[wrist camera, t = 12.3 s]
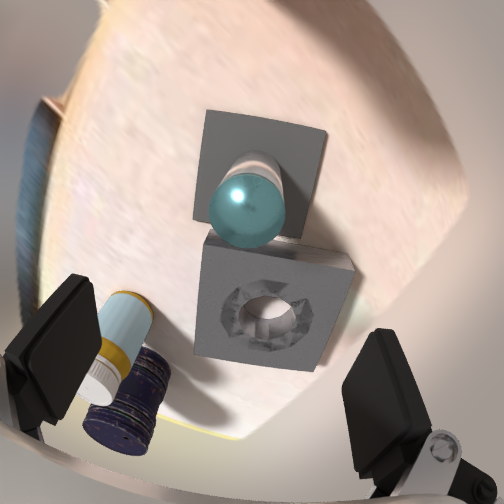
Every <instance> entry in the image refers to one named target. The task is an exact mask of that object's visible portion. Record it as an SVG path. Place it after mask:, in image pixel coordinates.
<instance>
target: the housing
mask: <svg viewBox="0 0 504 504" xmlns="http://www.w3.org/2000/svg"><path fill="white" fill-rule="evenodd" d="M354 273H355V269H354V267H353V265H352V263H351V261H350V258H349V256H348V254H346V253H340V252H335V251H330V250H324V249H319V248H314V247H308V246H303V245H297V244H292V243H286V242H281V241H275V240H271V241H270V242H269V243H267V244H265V245H262V246H260V247H256V248H240V247H236V246H233V245H231V244H229V243H227V242H226V241H224V240H223V239H222V238H220V237H219V236H218V234H217V233H216V232H215V230H213V229H210V231H209V233H208V235H207V237H206V239H205V242H204V244H203V252H202V261H201V271H200V282H199V292H198V304H197V316H196V329H195V342H194V355H199V356H204V357H210V358H215V359H221V360H226V361H232V362H238V363H245V364H251V365H258V366H265V367H273V368H280V369H289V370H298V371H307V372H314V370H315V368H316V365H317V363H318V361H319V359H320V357H321V354H322V352H323V350H324V348H325V345H326V343H327V341H328V339H329V336H330V334H331V332H332V329H333V327H334V324H335V322H336V320H337V317H338V315H339V312H340V310H341V307H342V305H343V302H344V300H345V297H346V295H347V292H348V289H349V287H350V284H351V281H352V279H353V276H354ZM264 295H265V296H271V297H277V298H281V299H282V300H284V301H285V302H286V303H288V304H289V305H290V306H291V308H290V309H289V310H288V311H287V312H286V313H285V314H283V315H282V316H281V317H277V318H273V319H269V320H268V319H262V318H256V317H254V316H253V315H251V314H250V313H248V312H247V311H246V310H245V308H244V306H243V305H244V304H245V303H247V302H248V301H249V300H250V299H253V298H257V297H261V296H264Z"/></svg>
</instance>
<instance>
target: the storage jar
mask: <svg viewBox="0 0 504 504" xmlns="http://www.w3.org/2000/svg"><path fill="white" fill-rule="evenodd" d="M170 375H171V370H170V367H169V365H168V363H167V362H166V361H165V360H164V359H163V358H162V357H161V356H160V355H159V354H157V353H156V352H154V351H152V350H150V349H148V348H146V347H143V346H141V348H140V350H139V353H138V355H137V357H136V359H135V361H134V364H133V366H132V368H131V370H130V372H129V374H128V376H127V377H126V378H125V379H123V380H122V381H121V383H120V385H119V387H118V390H117V393H116V395H115V397H114V399H113V402H112V403H111V404H110V405H107V406H99V405H95V404H92V403H91V405H90V407H89V409H88V413H87V415H86V418H85V419H84V421H83V425H82V426H83V428H84V430H85V431H86V433H87V434H88V435H89V436H90V437H91V438H93V439H94V440H95V441H97V442H98V443H100V444H101V445H103V446H105V447H107V448H109V449H111V450H113V451H116V452H119V453H122V454H126V455H131V456H142V455H145V454H146V453H147V450H148V445H149V443H150V440H151V438H152V436H153V432H154V428H155V426H156V415H157V411H158V408H159V405H160V404H161V403H162V401H163V398H164V395H165V393H166V390H167V386H168V381H169V379H170Z"/></svg>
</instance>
